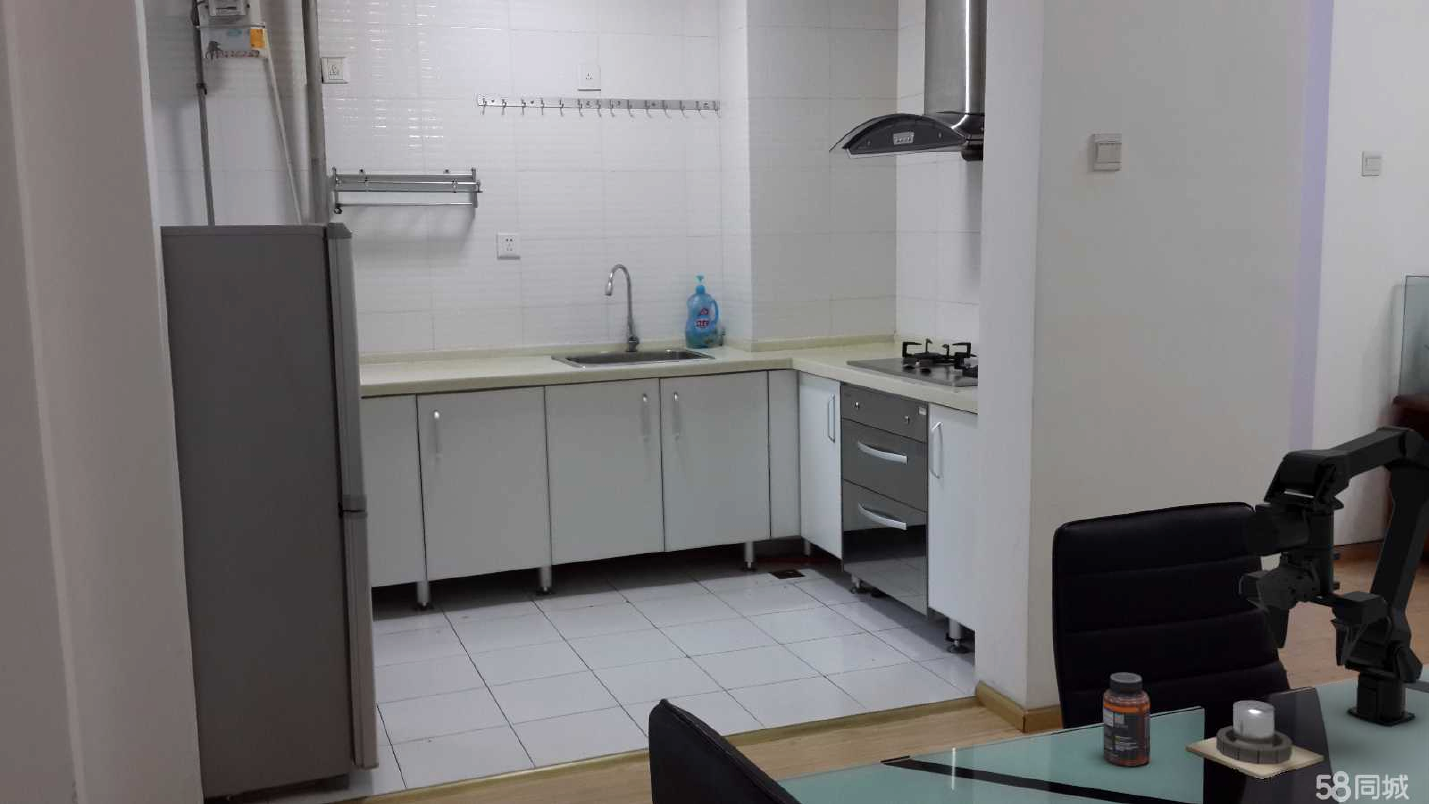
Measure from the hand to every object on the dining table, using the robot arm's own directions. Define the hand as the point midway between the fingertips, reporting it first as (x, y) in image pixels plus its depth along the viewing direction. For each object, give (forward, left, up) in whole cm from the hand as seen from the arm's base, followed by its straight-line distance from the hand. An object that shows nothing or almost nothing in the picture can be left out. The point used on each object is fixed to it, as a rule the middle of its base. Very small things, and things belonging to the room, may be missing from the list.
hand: (1309, 656), depth 170 cm
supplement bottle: (+26, -8, -12) cm, 30 cm away
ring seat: (+11, 0, -12) cm, 16 cm away
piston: (+11, 0, -11) cm, 16 cm away
